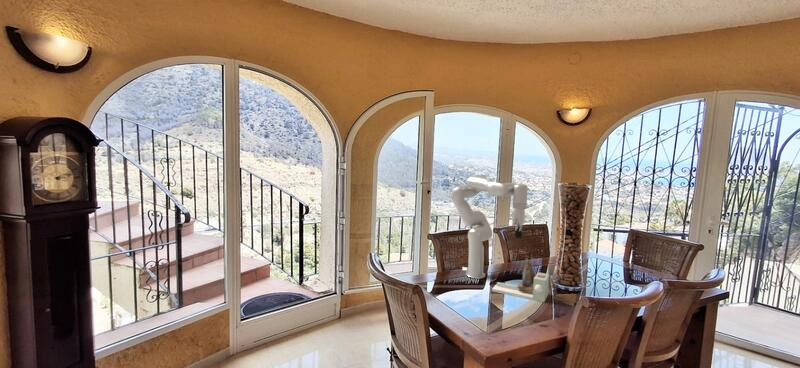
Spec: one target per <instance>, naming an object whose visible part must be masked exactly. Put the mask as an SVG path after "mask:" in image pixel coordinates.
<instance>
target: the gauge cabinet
mask: <svg viewBox="0 0 800 368" xmlns="http://www.w3.org/2000/svg"><path fill="white" fill-rule="evenodd" d="M539 274H540V275H545V278H541V277H538V276H539ZM549 281H550V274H549V273H544V272H537V273H536V274H535V277H534V282H533V301H536V302H542V303H545V301H546V300H547V297H548V295H549V287H550V285H549V283H550V282H549Z"/></svg>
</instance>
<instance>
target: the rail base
mask: <svg viewBox="0 0 800 368" xmlns="http://www.w3.org/2000/svg"><path fill="white" fill-rule="evenodd" d="M517 286H518V285H513V284H510V283H503V282H498V281H497V282H496V284H495V285H494V286H493V287H492V288H491V291H492V292H493V293H498V294H503V295H508V296H513V297H517V298H522V299H527V300H531V301H532V300H533V290H532V293H528V292H523V291H519V288H517ZM533 301H534V300H533Z"/></svg>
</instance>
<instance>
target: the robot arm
mask: <svg viewBox="0 0 800 368" xmlns="http://www.w3.org/2000/svg"><path fill="white" fill-rule="evenodd" d="M528 190H529V189H528V185H527V184H523V183H516V182H504V183H502V182H494V180H493V178H490V177H487V176H485V175H483V174H482V175H481V174H480V175H479V174H477V175H476V174H474V175H471V176H469V177H468V178H467V180H466V184H464V185H462V184H461V185H458V186H455V187H454V188H453V189H452V191H451V201H452V203H453V205H454V206H455V207H456V210H457V211H458V214H459V216H460V218H461V220H462V223H463V224H464V226H466V227H467V228H469V227H472V228H470V229H469V230H468V231H467V240H468V261H467V262H468V264H467V266H462V268H461V269H462V271H464V272H465V276H466V275H467V276H468V278H469V277H471V278H470V279H474V278H475V280H477V279H479V280H480V279H484V278H486V273H485V272H484V258H485V256H484V255H485V247H484V245H483V242H485V241H488V240H490V239H491V238H492V236H493V230H492V227H491V225H490V223H489V221H488V219H487V217H486V214H484V213H483V212H482V211H480V210H473V209H472V207H471V205H470V203H469V202H468V201H466V199H470V198H474V197H476V196H477V195H479V193H481V192H486V193H487V194H489V195H493V196H497V197H511V196H512V197H513V198H512V209H513V211H512V212H513V213H512V222H511V225H512V226H513V227H514V226H515V230H514V232H515V234H514V238H518V239H521V238H522V233H523V231H522V230H523V226H524V224H525V220H526V219H525V215H526V213H525V212H526V210H527V206H528V205H527V204H528ZM467 276H466V277H467Z"/></svg>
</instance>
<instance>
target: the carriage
mask: <svg viewBox="0 0 800 368" xmlns="http://www.w3.org/2000/svg"><path fill="white" fill-rule="evenodd" d="M521 281H522V282H519V284H518V285H516V286H517V288H519V291H523V292H528V293H532V290H533V285H530V273H526V272H525V273H522V280H521Z"/></svg>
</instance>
